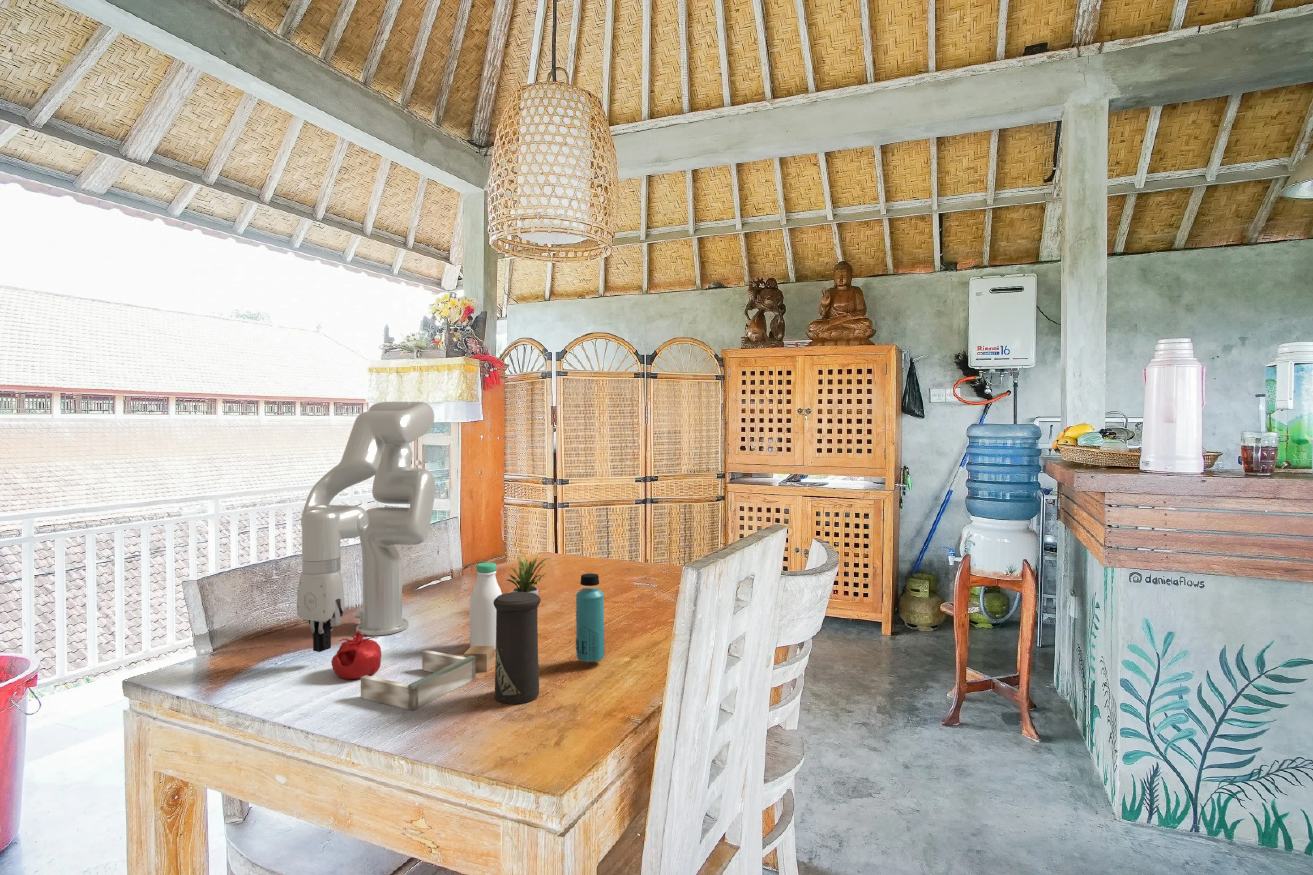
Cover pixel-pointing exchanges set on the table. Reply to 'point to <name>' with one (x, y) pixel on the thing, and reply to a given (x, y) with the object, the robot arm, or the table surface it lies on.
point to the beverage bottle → (590, 620)
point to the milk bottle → (484, 606)
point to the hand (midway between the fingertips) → (322, 649)
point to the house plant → (526, 576)
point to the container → (516, 647)
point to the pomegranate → (357, 658)
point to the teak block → (482, 657)
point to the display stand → (422, 681)
